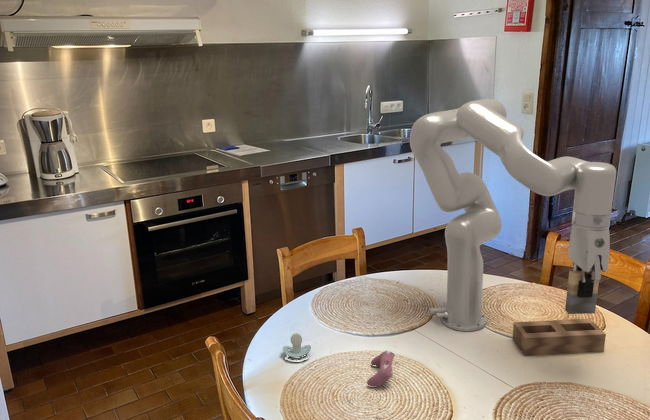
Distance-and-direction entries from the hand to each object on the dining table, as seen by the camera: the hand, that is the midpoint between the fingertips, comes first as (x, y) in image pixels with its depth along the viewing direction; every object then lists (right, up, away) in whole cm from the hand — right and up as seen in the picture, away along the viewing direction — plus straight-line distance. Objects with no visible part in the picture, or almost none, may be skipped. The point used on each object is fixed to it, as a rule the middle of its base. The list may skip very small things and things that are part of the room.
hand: (582, 293), depth 121 cm
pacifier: (-67, -19, +14) cm, 71 cm away
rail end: (0, -4, +1) cm, 5 cm away
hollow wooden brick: (0, -15, +14) cm, 21 cm away
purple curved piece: (-46, -21, +4) cm, 51 cm away
